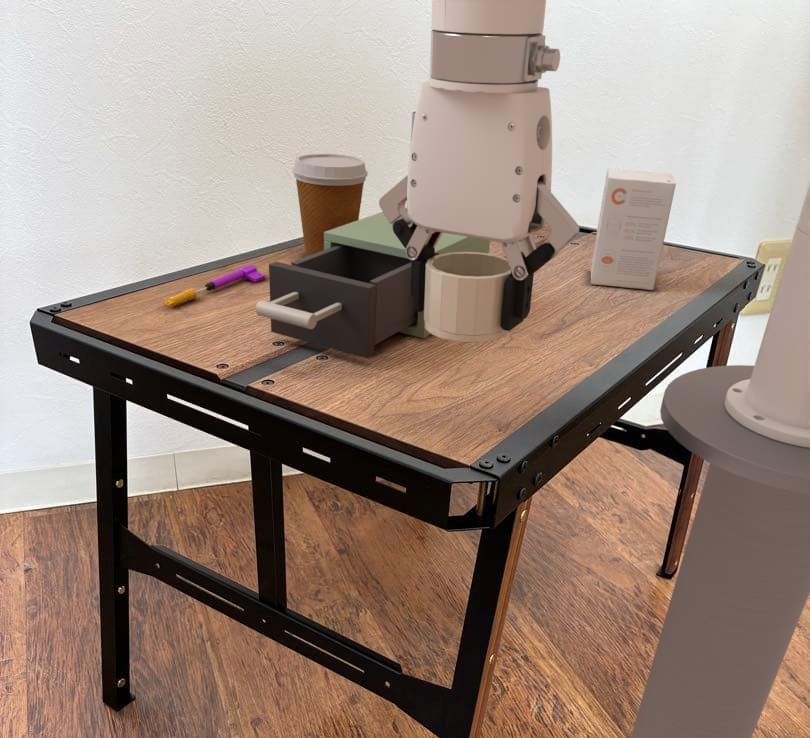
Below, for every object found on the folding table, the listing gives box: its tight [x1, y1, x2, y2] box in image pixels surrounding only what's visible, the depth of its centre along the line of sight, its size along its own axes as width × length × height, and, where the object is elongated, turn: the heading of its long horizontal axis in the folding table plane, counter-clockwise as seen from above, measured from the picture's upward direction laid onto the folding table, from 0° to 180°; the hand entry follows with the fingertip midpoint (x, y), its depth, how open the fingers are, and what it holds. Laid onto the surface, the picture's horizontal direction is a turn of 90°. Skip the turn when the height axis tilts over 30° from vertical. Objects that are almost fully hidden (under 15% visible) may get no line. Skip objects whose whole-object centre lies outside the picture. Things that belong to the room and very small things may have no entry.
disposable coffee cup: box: [291, 153, 369, 257], centre depth 110 cm, size 10×10×12 cm
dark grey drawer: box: [255, 244, 418, 359], centre depth 86 cm, size 19×12×7 cm, turn 150°
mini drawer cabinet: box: [324, 209, 491, 339], centre depth 96 cm, size 15×13×9 cm
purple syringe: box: [163, 264, 266, 307], centre depth 99 cm, size 3×1×16 cm
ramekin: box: [424, 252, 512, 343], centre depth 67 cm, size 7×7×5 cm
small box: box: [590, 168, 677, 291], centre depth 108 cm, size 8×6×13 cm
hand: (468, 314), depth 68 cm, fingers closed on ramekin, 7 cm apart
